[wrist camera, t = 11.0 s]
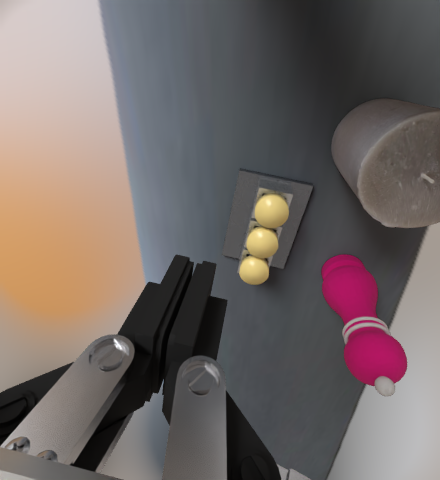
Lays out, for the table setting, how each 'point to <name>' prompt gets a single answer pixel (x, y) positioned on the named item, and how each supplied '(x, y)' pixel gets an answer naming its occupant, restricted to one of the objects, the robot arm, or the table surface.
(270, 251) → the knob
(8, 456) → the robot arm
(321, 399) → the table surface
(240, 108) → the table surface
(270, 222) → the knob
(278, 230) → the mount plate
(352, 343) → the pepper mill
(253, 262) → the knob
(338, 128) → the pillar candle
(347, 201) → the table surface
